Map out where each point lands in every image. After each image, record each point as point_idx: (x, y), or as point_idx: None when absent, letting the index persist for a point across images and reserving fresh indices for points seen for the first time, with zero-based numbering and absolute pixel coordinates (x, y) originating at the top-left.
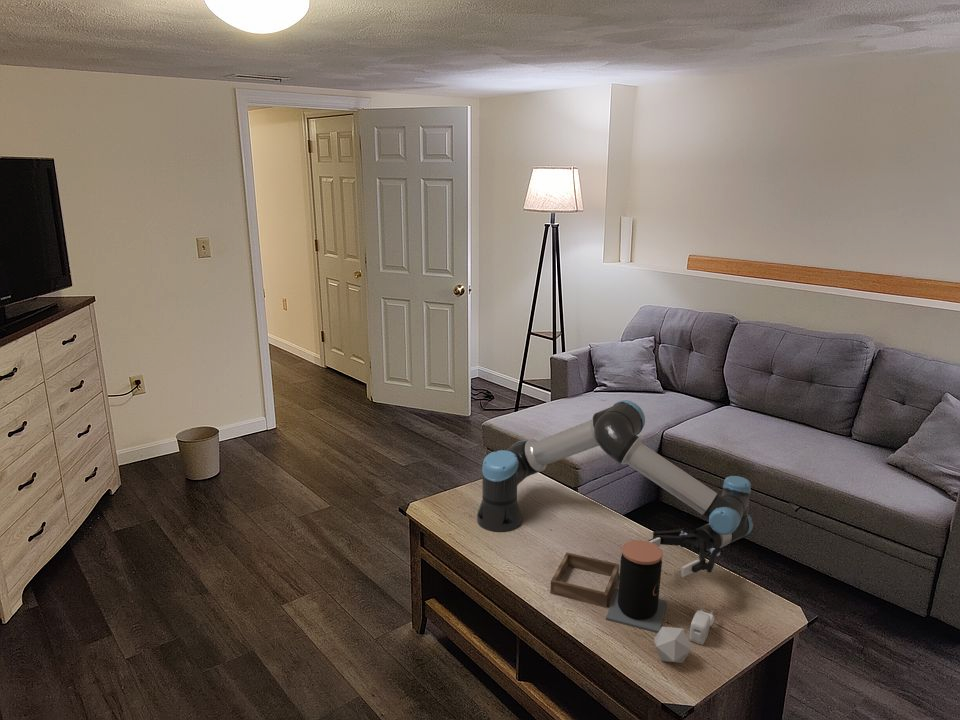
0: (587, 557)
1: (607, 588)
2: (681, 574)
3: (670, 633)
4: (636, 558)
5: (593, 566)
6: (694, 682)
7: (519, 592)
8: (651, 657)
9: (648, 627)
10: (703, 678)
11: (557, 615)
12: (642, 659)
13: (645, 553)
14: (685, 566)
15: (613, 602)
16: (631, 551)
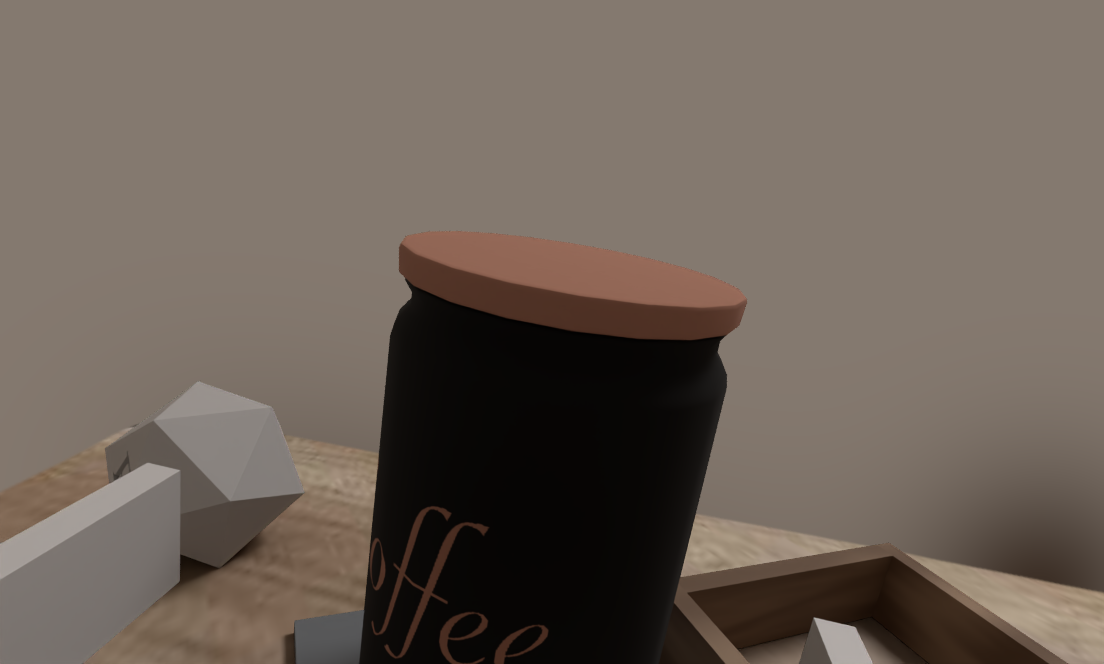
0: None
1: (707, 626)
2: (174, 562)
3: (223, 394)
4: (540, 240)
5: None
6: (91, 484)
7: (912, 555)
8: (296, 511)
9: (363, 616)
10: (38, 508)
11: (715, 528)
12: (328, 494)
13: (530, 252)
14: (123, 490)
15: None
16: (616, 257)
